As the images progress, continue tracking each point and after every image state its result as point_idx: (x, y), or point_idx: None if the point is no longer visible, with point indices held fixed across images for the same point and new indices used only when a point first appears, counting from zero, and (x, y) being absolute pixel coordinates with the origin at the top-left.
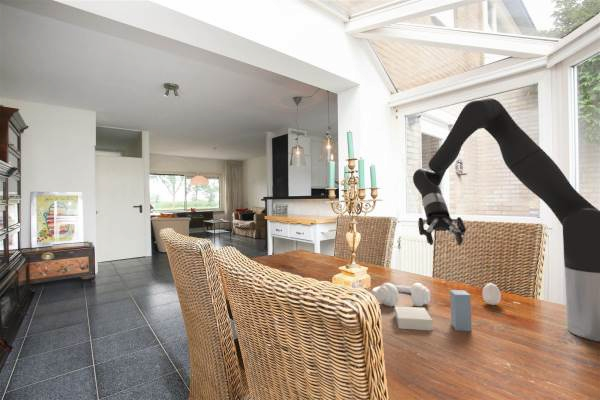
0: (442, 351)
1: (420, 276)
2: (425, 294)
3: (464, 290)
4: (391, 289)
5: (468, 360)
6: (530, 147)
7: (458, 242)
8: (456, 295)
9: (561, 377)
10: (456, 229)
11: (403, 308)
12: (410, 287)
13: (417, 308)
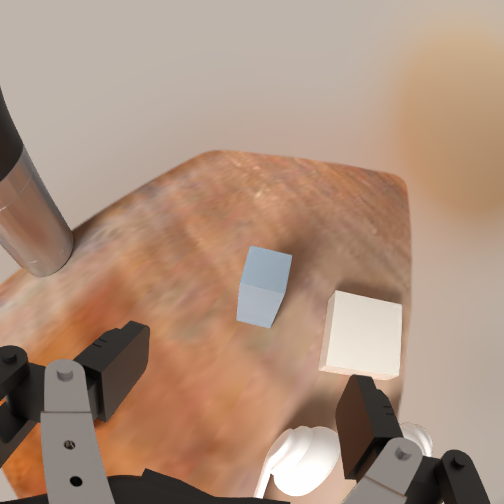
0: (337, 231)
1: None
2: (298, 431)
3: (241, 283)
4: (408, 431)
5: (309, 207)
6: None
7: (144, 348)
8: (286, 255)
9: (214, 168)
10: (69, 389)
11: (381, 361)
12: None
13: (347, 360)
